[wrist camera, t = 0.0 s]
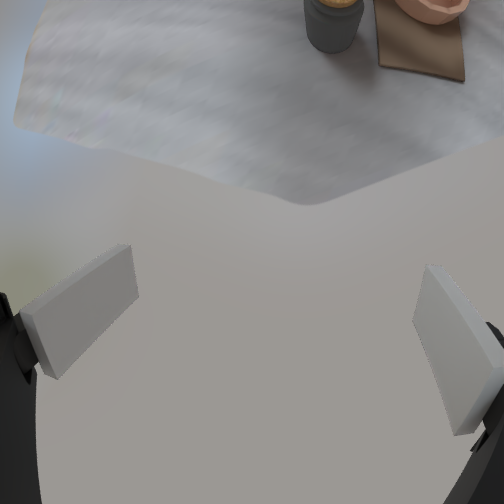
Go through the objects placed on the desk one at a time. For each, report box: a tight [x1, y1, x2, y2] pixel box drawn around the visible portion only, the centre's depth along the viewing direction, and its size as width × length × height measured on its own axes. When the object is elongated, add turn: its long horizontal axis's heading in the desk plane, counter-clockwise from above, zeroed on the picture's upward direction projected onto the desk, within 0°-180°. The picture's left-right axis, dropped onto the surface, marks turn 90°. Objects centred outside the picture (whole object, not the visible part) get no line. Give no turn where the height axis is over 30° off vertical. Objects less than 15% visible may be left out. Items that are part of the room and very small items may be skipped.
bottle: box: [304, 0, 364, 53], centre depth 24 cm, size 6×6×15 cm
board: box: [373, 0, 465, 82], centre depth 26 cm, size 18×12×1 cm, turn 1°
